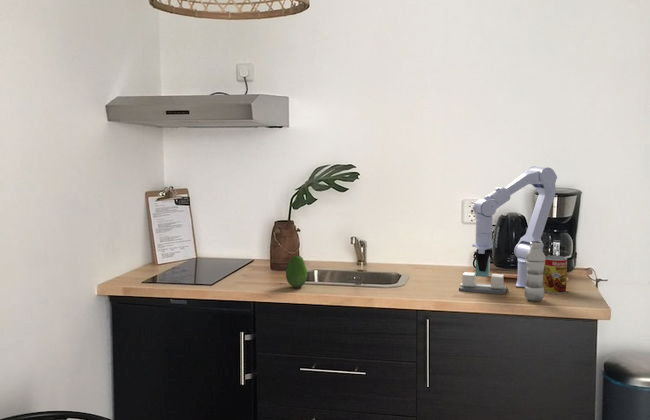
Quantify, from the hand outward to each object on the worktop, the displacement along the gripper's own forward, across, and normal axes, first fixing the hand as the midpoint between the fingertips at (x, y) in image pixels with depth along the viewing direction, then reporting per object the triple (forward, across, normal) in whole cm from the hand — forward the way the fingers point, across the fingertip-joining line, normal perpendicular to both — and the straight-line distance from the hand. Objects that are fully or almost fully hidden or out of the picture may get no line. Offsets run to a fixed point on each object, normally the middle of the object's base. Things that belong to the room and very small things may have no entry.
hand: (483, 270), depth 226 cm
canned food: (+7, -6, +24) cm, 26 cm away
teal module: (+2, 0, 0) cm, 2 cm away
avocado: (+8, +17, -66) cm, 69 cm away
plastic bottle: (+7, +10, +18) cm, 22 cm away
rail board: (+7, 0, 0) cm, 7 cm away
